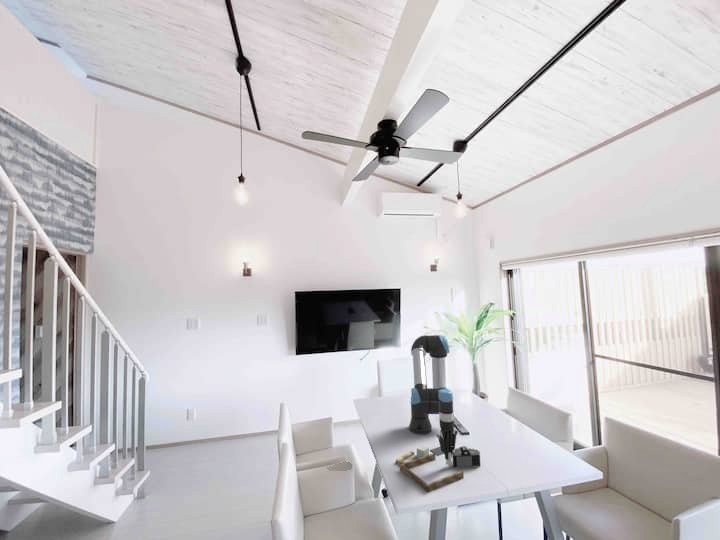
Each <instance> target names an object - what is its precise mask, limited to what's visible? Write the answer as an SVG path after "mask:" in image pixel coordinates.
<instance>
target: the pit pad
mask: <svg viewBox="0 0 720 540" xmlns="http://www.w3.org/2000/svg"><path fill="white" fill-rule="evenodd" d="M429 452H431V453H432V454H433V453H434V454H435V456H438V457H439V456H442V455H445V453H444V452H442V451H441V447H440V446H437V447H434V448H432V449H429Z"/></svg>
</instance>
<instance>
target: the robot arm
mask: <svg viewBox="0 0 720 540" xmlns="http://www.w3.org/2000/svg"><path fill="white" fill-rule="evenodd" d="M448 342H449V341H448V338H447V336H446V335H441V334H434V335H432V334H431V335H420V336H418V337H417V338H416V339H414V341H413V343H412V344H411V348H410V353H411V354H410V355H411V356H412V362H413V364H412V365H413V383H414V384H413V386H414V387H413V388H411V389H410V391H411V392H410V393H411V397H410V413H411V414H410V415H411V416H410V417H411V418H410V421H409V425H408V427H409V428H408V429H409V431H410V432H412V433H414V434H419V435H421V434H422V435H424V434H429V433H431V432H432V430H433V428H432V427H433V426H432V423H431V421H430V418H429V417H430V416H429V415H439V427H440V433H438V434H436V437H437V439H438V442H439V447H441V451H442V452H444V459H445V464H446V465H447V466H448V467H452V465H453V462H452V459H453V456H452V453H453V450H455V449H456V442H457V435H458V431H457V429H456V430H455V421H454V419H455V417H454V400H453V399H454V395H453V391H452V390H450V389H448V388H447V385H446V384H447V383H446V382H447V381H446V358H447V357H448V354H450V347H449V346H450V345H449V343H448ZM427 354H429V357H430V358H431V371H432V388H430V387H429V388H428V380H427V369H426V367H427V366H426V355H427Z"/></svg>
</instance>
